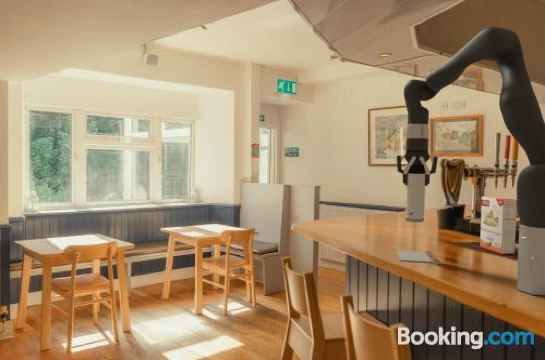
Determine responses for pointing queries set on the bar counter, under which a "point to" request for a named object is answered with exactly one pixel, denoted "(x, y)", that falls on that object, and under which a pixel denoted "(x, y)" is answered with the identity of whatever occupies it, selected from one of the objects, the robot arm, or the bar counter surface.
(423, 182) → the travel mug
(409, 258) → the mat
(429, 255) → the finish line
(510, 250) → the cracker box
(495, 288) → the bar counter surface
